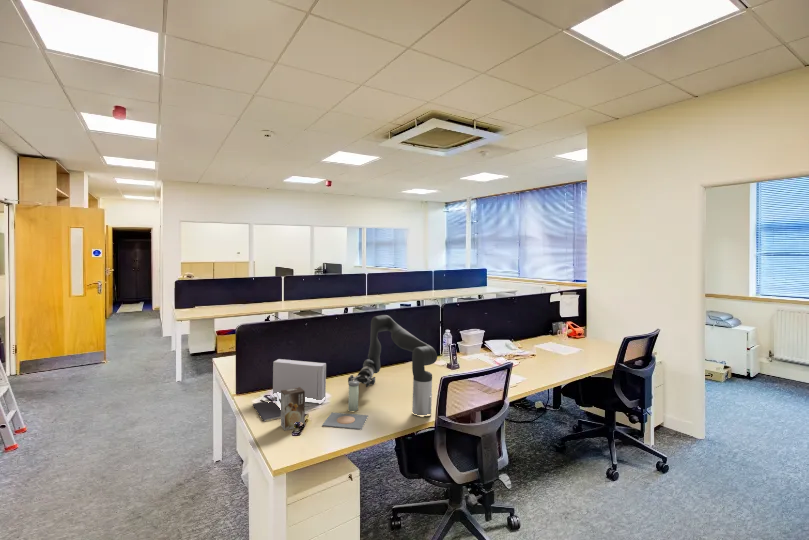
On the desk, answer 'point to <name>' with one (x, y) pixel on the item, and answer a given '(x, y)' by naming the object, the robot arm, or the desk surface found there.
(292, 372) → the game console
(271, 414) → the notebook
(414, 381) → the robot arm
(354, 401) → the tube
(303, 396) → the coffee box
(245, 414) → the desk surface
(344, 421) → the card
